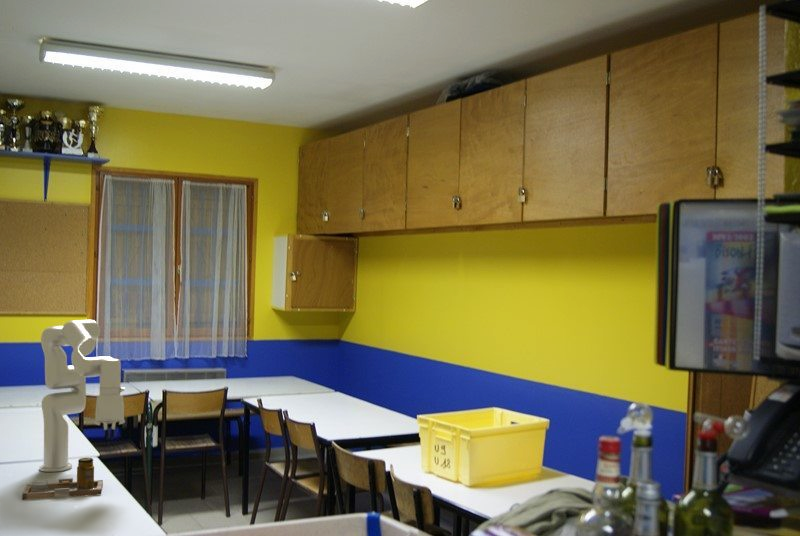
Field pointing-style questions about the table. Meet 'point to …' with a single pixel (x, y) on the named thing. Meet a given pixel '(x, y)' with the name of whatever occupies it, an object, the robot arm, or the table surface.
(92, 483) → the condiment
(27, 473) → the table surface
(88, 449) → the table surface
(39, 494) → the frame
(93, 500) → the table surface
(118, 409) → the robot arm
